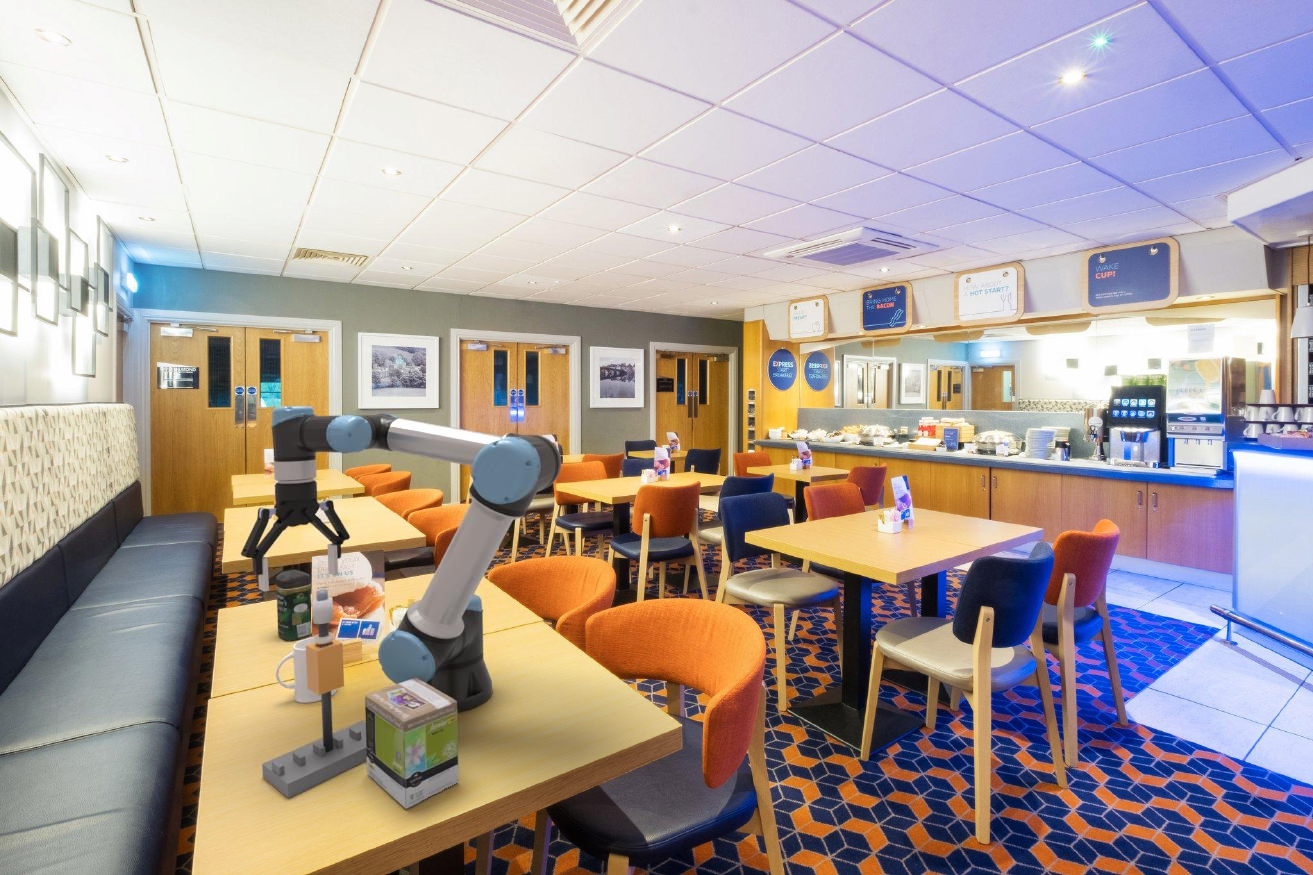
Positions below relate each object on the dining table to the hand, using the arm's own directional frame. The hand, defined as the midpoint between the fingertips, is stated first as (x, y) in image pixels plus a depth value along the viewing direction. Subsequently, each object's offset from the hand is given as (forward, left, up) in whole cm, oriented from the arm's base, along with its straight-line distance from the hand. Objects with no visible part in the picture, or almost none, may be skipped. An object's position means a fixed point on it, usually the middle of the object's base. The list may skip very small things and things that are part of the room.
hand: (300, 581), depth 128 cm
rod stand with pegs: (-13, +18, -29) cm, 36 cm away
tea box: (-30, +24, -29) cm, 48 cm away
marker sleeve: (-13, +18, -14) cm, 26 cm away
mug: (+4, -9, -29) cm, 31 cm away
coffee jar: (+26, -47, -29) cm, 61 cm away
